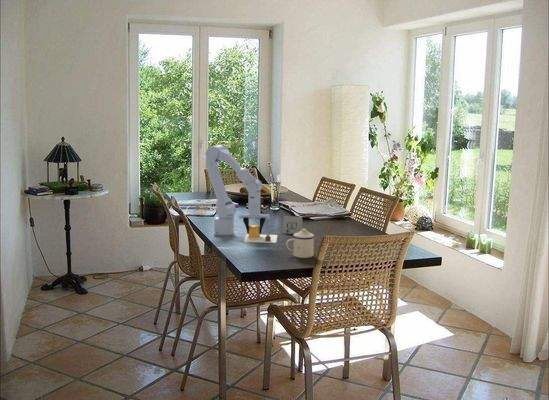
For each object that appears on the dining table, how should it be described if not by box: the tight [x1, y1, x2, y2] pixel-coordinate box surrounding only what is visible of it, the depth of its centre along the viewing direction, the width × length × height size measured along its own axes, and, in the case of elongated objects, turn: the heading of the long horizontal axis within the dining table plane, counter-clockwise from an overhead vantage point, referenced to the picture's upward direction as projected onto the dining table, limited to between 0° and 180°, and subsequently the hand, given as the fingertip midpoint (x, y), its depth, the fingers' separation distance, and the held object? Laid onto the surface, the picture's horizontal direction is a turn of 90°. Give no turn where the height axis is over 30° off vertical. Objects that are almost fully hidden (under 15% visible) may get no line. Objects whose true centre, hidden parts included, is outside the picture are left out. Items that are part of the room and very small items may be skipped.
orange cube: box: [249, 224, 261, 238], centre depth 286 cm, size 5×5×5 cm
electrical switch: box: [282, 215, 303, 235], centre depth 295 cm, size 9×5×9 cm, turn 78°
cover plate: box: [243, 233, 278, 244], centre depth 282 cm, size 15×16×4 cm
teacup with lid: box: [285, 228, 315, 259], centre depth 255 cm, size 12×9×12 cm
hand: (254, 233), depth 286 cm, fingers closed on orange cube, 5 cm apart
